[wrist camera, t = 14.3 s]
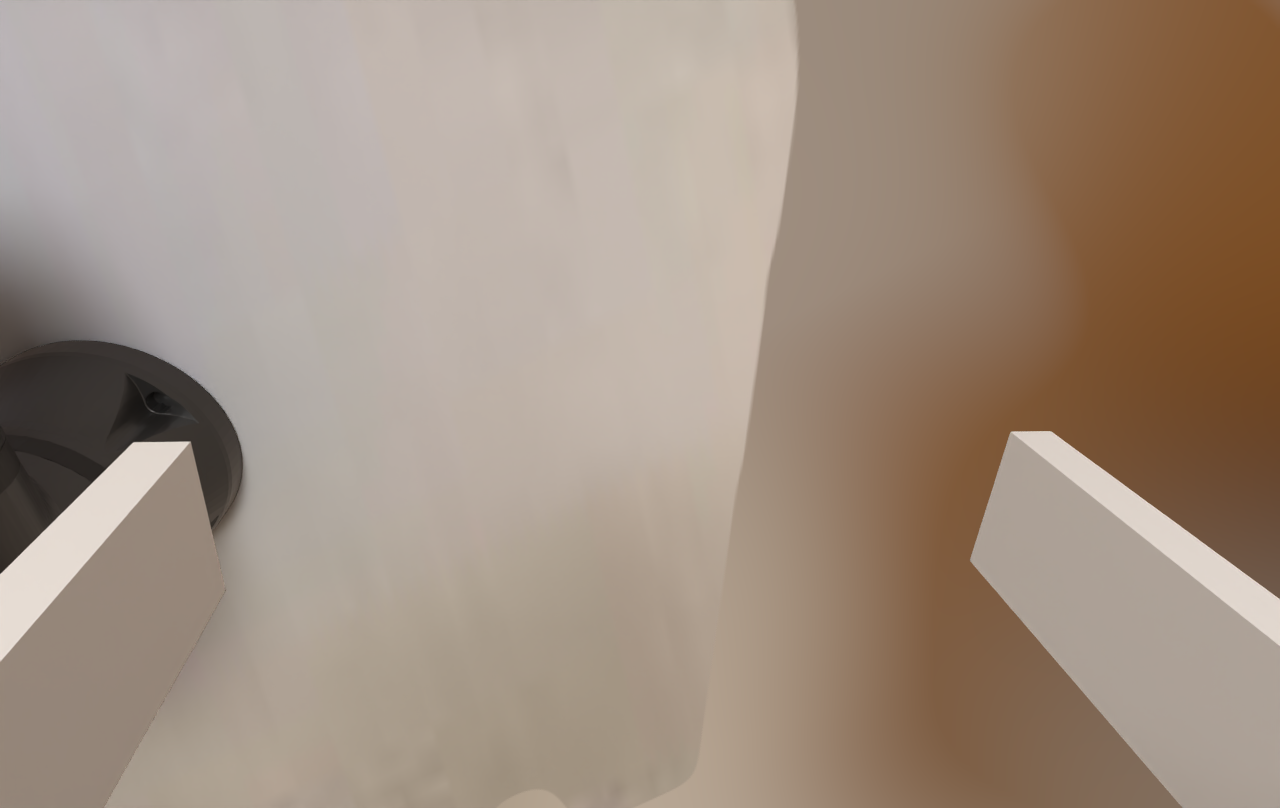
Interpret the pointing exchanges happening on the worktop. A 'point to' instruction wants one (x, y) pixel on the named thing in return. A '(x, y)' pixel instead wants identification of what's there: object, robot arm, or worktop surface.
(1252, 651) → the robot arm
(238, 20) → the worktop surface
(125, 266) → the worktop surface
